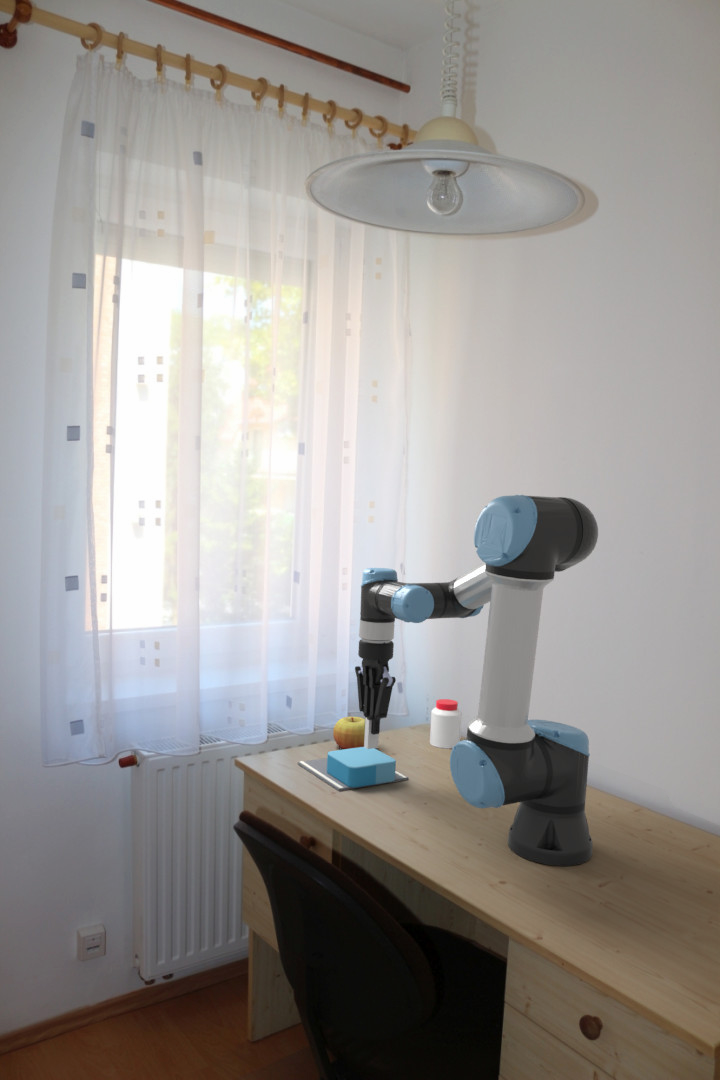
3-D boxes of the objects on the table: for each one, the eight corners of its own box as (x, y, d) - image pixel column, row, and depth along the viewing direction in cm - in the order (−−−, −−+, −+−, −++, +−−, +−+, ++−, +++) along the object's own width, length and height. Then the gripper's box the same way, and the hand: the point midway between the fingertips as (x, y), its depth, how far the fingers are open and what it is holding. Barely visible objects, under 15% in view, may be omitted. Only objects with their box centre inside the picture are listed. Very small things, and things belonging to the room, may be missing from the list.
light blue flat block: (397, 781, 190) (369, 764, 200) (398, 760, 189) (370, 745, 200) (350, 788, 183) (324, 771, 194) (351, 767, 183) (324, 751, 193)
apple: (331, 753, 208) (333, 721, 208) (332, 741, 218) (334, 710, 218) (372, 755, 209) (374, 723, 208) (371, 743, 218) (373, 712, 218)
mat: (408, 779, 192) (408, 776, 192) (338, 791, 183) (338, 788, 183) (363, 754, 209) (364, 752, 209) (297, 764, 199) (297, 761, 199)
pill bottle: (428, 746, 218) (430, 704, 217) (430, 738, 225) (433, 696, 224) (459, 750, 216) (461, 706, 216) (460, 741, 224) (462, 699, 223)
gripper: (407, 644, 182) (402, 753, 184) (375, 633, 193) (369, 737, 195) (378, 646, 178) (372, 758, 180) (346, 635, 189) (341, 740, 191)
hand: (371, 747), depth 187 cm, fingers closed
